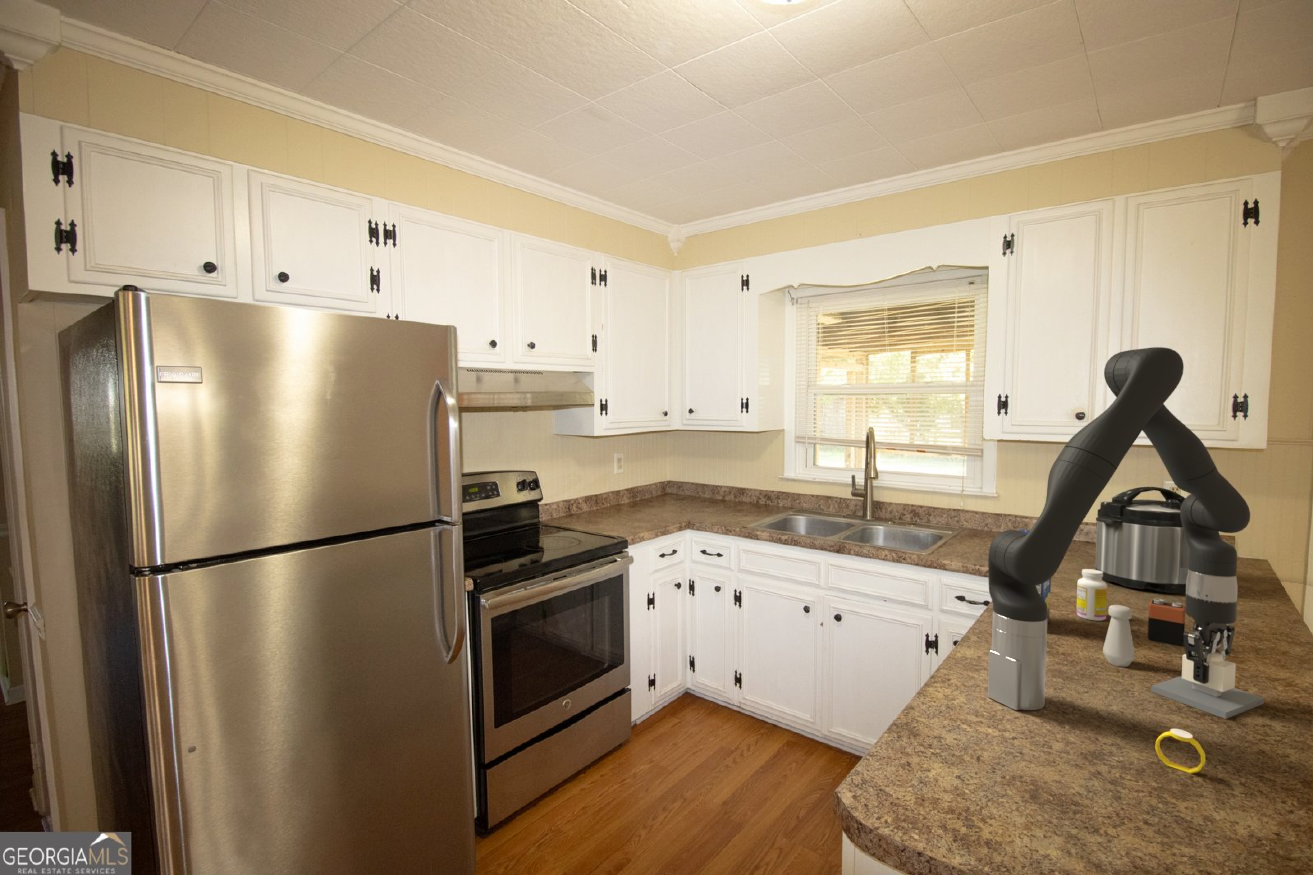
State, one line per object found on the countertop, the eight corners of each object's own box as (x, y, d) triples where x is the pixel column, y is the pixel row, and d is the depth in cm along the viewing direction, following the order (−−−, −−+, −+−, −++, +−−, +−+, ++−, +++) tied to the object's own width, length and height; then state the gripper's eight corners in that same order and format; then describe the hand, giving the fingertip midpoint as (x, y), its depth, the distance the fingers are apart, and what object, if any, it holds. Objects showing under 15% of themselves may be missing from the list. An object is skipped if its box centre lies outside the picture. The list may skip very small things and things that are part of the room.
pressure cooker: (1189, 578, 205) (1193, 484, 204) (1221, 602, 180) (1226, 495, 178) (1082, 567, 219) (1085, 479, 217) (1098, 588, 194) (1101, 489, 192)
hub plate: (1225, 719, 113) (1226, 694, 113) (1151, 691, 124) (1152, 668, 124) (1263, 703, 119) (1264, 680, 118) (1189, 678, 130) (1190, 657, 129)
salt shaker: (1103, 655, 142) (1105, 600, 141) (1134, 662, 138) (1137, 605, 137) (1101, 663, 137) (1103, 607, 136) (1134, 670, 134) (1136, 612, 133)
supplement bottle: (1107, 617, 168) (1109, 570, 167) (1104, 623, 163) (1106, 575, 162) (1078, 611, 172) (1080, 566, 171) (1074, 617, 167) (1075, 571, 167)
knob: (1222, 692, 117) (1224, 659, 117) (1181, 678, 123) (1182, 647, 123) (1234, 687, 119) (1236, 655, 119) (1193, 674, 125) (1194, 643, 125)
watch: (1204, 774, 97) (1209, 739, 96) (1200, 781, 95) (1206, 745, 94) (1156, 755, 101) (1160, 721, 100) (1152, 762, 99) (1157, 727, 99)
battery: (1148, 635, 154) (1150, 596, 154) (1184, 641, 150) (1185, 601, 149) (1147, 639, 151) (1149, 600, 151) (1183, 647, 147) (1185, 606, 146)
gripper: (1215, 605, 114) (1211, 694, 115) (1254, 595, 120) (1250, 680, 121) (1168, 594, 121) (1165, 678, 122) (1207, 585, 127) (1203, 665, 127)
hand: (1207, 679), depth 121 cm, fingers closed on knob, 4 cm apart
